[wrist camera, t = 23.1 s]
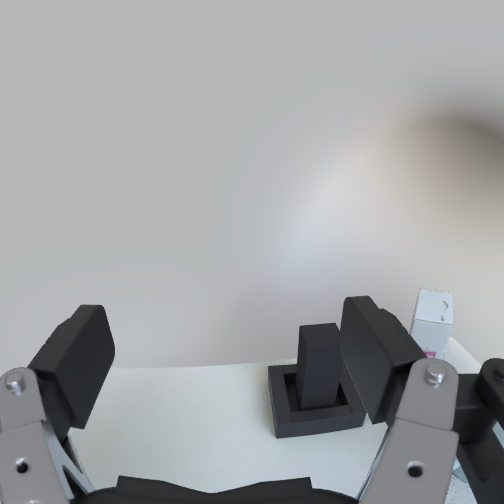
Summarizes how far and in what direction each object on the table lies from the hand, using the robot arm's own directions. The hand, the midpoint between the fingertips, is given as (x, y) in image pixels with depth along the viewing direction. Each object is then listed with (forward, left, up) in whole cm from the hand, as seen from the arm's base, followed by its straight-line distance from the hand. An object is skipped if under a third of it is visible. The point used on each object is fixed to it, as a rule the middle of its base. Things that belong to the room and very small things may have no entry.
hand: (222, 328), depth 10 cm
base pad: (+9, +17, -24) cm, 30 cm away
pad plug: (+9, +17, -23) cm, 30 cm away
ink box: (+24, +19, -24) cm, 38 cm away
